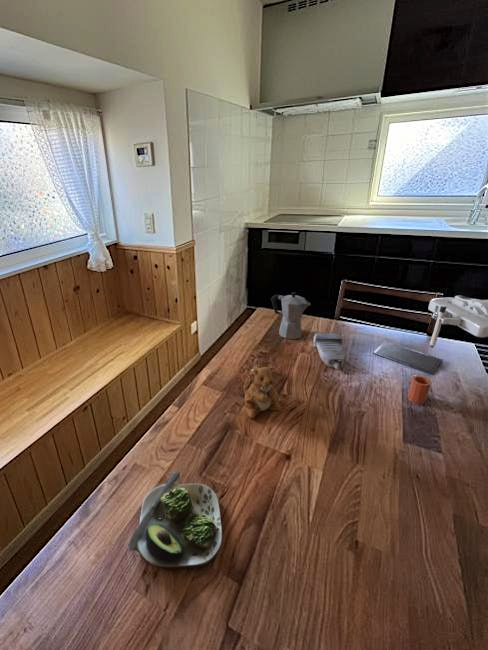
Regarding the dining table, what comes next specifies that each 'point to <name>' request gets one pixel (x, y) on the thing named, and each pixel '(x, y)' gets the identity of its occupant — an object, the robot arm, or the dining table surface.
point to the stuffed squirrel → (260, 391)
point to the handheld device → (330, 349)
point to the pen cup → (419, 389)
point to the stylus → (437, 325)
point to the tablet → (408, 357)
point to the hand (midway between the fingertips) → (437, 318)
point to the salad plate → (178, 526)
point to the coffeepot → (290, 314)
